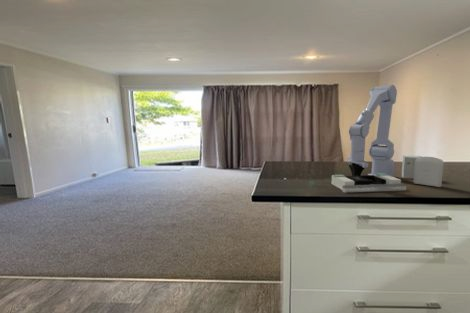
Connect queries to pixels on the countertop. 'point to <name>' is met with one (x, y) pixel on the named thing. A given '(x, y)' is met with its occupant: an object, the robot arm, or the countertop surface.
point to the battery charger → (366, 180)
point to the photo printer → (428, 171)
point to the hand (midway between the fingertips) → (355, 180)
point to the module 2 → (388, 178)
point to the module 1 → (341, 181)
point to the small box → (408, 166)
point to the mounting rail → (373, 187)
